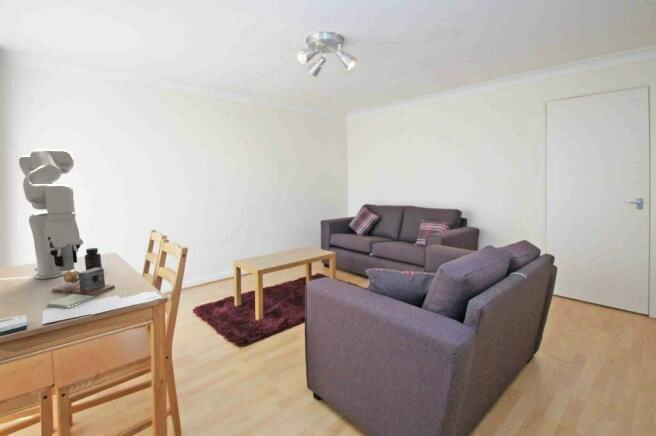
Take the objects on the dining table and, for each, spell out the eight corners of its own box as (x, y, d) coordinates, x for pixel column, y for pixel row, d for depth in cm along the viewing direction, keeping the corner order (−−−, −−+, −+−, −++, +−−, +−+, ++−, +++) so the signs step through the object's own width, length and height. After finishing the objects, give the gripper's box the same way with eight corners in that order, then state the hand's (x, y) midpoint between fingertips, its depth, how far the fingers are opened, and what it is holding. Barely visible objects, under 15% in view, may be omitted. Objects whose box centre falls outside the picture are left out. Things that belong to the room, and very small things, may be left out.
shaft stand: (52, 291, 140) (49, 271, 139) (75, 284, 149) (73, 265, 148) (93, 296, 135) (91, 274, 133) (114, 287, 144) (112, 268, 143)
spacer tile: (47, 305, 125) (47, 303, 125) (73, 296, 135) (73, 293, 134) (68, 308, 123) (67, 305, 122) (93, 298, 132) (92, 295, 132)
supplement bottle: (105, 270, 171) (103, 247, 170) (92, 274, 165) (89, 250, 163) (96, 269, 173) (93, 246, 172) (82, 272, 167) (80, 249, 165)
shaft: (64, 283, 141) (62, 272, 140) (75, 280, 146) (74, 269, 145) (85, 285, 138) (84, 274, 138) (96, 282, 143) (95, 270, 142)
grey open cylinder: (64, 268, 129) (61, 242, 127) (77, 267, 129) (74, 242, 128) (56, 271, 124) (53, 245, 123) (69, 271, 125) (66, 244, 123)
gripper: (75, 214, 133) (80, 258, 136) (28, 220, 117) (35, 270, 119) (89, 214, 131) (94, 259, 134) (44, 220, 115) (51, 271, 117)
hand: (66, 263), depth 126 cm, fingers closed on grey open cylinder, 4 cm apart
